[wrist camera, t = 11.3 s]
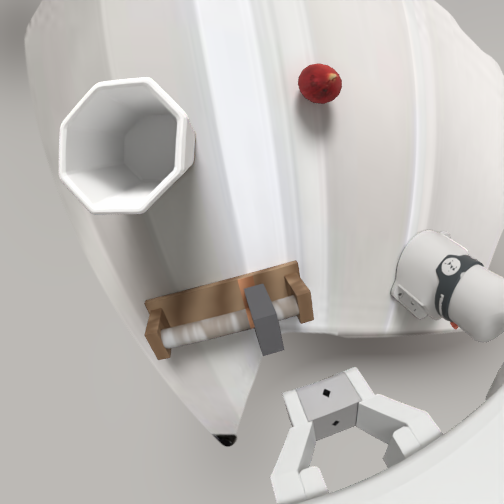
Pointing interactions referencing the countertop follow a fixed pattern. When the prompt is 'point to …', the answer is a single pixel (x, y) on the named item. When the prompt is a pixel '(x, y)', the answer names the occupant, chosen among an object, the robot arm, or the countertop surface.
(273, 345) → the collar
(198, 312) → the pipe rack
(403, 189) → the countertop surface
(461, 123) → the countertop surface
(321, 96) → the onion
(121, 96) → the cup
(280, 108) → the countertop surface
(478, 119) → the countertop surface
